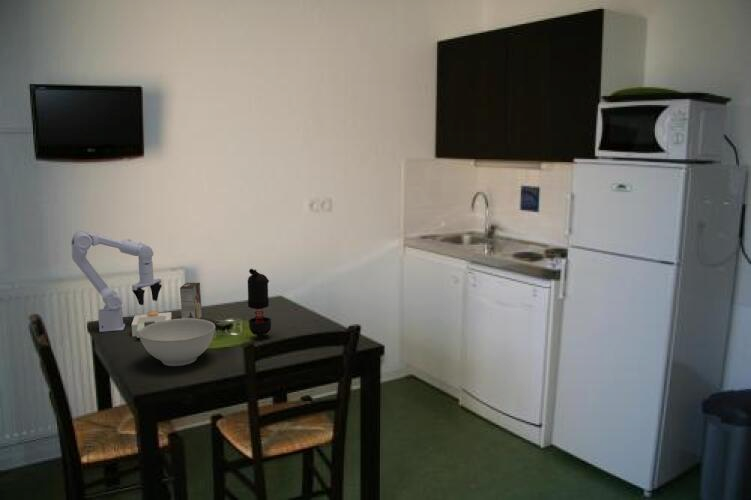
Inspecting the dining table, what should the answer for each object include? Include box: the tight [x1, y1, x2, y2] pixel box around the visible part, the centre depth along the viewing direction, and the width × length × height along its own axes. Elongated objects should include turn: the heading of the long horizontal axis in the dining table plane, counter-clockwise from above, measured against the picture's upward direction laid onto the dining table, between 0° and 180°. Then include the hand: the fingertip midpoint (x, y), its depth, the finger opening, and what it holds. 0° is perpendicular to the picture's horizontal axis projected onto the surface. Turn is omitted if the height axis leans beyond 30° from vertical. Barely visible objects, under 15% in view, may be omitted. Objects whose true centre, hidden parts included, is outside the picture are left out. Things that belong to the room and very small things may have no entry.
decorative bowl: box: [139, 317, 216, 367], centre depth 230 cm, size 27×27×12 cm
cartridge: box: [136, 321, 155, 339], centre depth 257 cm, size 10×10×6 cm
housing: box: [131, 311, 172, 337], centre depth 266 cm, size 15×15×5 cm
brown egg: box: [146, 310, 159, 316], centre depth 271 cm, size 4×4×4 cm
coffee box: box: [179, 282, 203, 319], centre depth 280 cm, size 9×6×16 cm
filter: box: [247, 268, 272, 339], centre depth 255 cm, size 14×9×30 cm
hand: (148, 302), depth 274 cm, fingers open, 7 cm apart
